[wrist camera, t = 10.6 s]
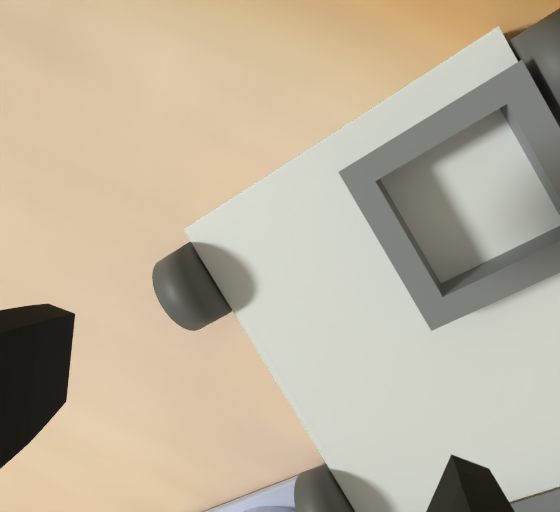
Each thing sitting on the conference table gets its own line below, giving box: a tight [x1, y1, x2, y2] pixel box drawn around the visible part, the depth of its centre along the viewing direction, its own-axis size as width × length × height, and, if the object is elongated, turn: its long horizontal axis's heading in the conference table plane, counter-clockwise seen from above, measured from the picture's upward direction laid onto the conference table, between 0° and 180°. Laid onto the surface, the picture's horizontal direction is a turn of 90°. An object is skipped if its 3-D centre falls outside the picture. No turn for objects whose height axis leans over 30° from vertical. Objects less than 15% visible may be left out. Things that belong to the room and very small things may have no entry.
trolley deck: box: [152, 8, 560, 512], centre depth 17 cm, size 15×15×3 cm
